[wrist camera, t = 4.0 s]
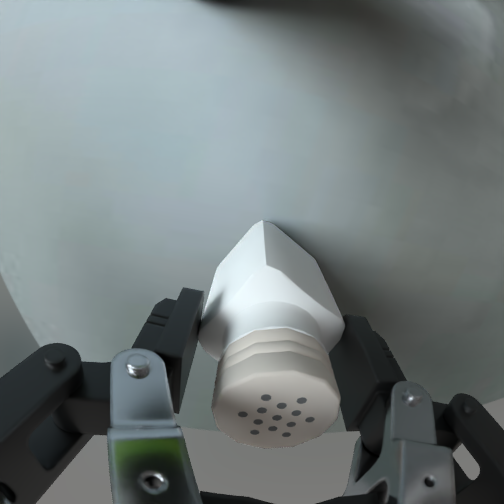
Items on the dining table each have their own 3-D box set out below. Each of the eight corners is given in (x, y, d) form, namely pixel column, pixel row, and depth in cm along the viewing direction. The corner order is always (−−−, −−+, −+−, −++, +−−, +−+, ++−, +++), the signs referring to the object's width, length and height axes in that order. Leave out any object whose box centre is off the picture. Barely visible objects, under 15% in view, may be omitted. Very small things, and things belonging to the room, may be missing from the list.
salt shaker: (262, 212, 14) (270, 325, 6) (321, 261, 15) (386, 401, 6) (211, 270, 16) (165, 418, 7) (270, 313, 16) (280, 468, 8)
